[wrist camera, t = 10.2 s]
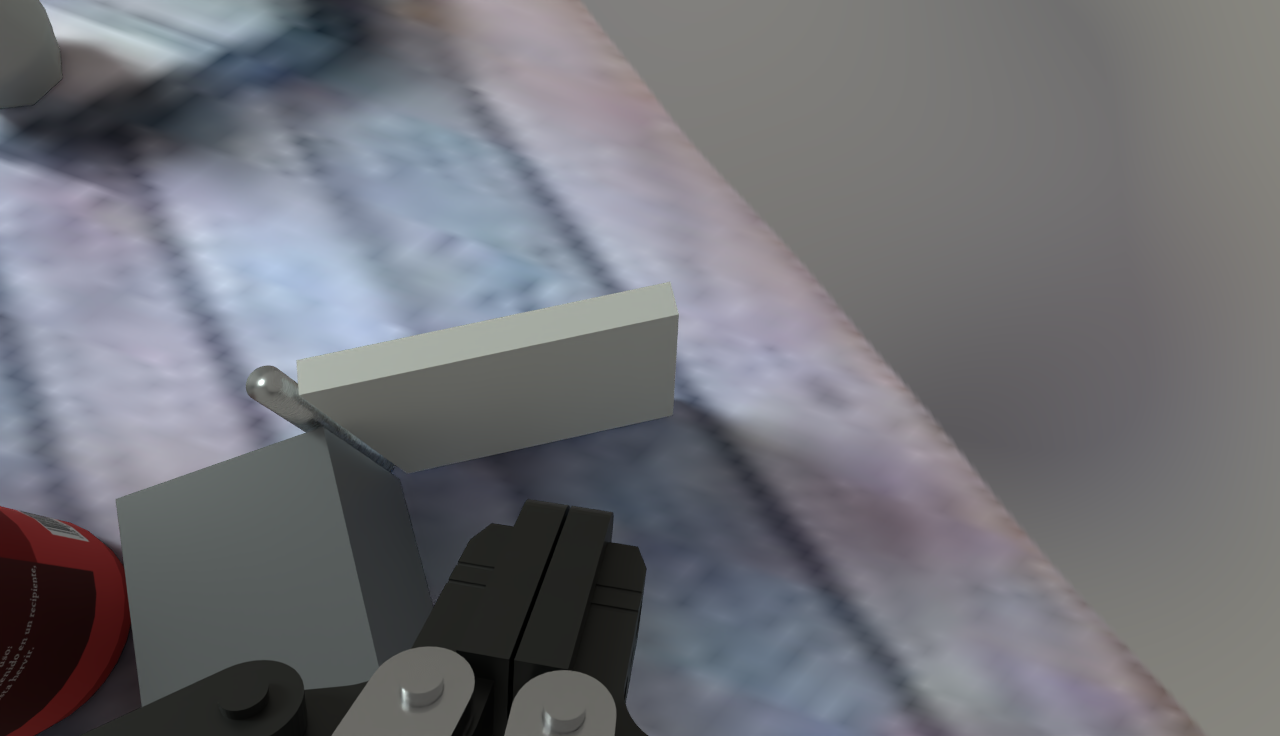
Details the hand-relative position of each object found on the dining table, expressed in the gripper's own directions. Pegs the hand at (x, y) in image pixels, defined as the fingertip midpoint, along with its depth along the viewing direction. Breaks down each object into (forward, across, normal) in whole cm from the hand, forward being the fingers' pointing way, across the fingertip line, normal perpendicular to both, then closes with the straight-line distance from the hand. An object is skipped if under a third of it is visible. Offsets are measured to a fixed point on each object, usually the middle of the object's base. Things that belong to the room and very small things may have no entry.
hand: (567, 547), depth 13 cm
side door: (+15, +4, +6) cm, 16 cm away
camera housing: (+9, +9, +12) cm, 18 cm away
